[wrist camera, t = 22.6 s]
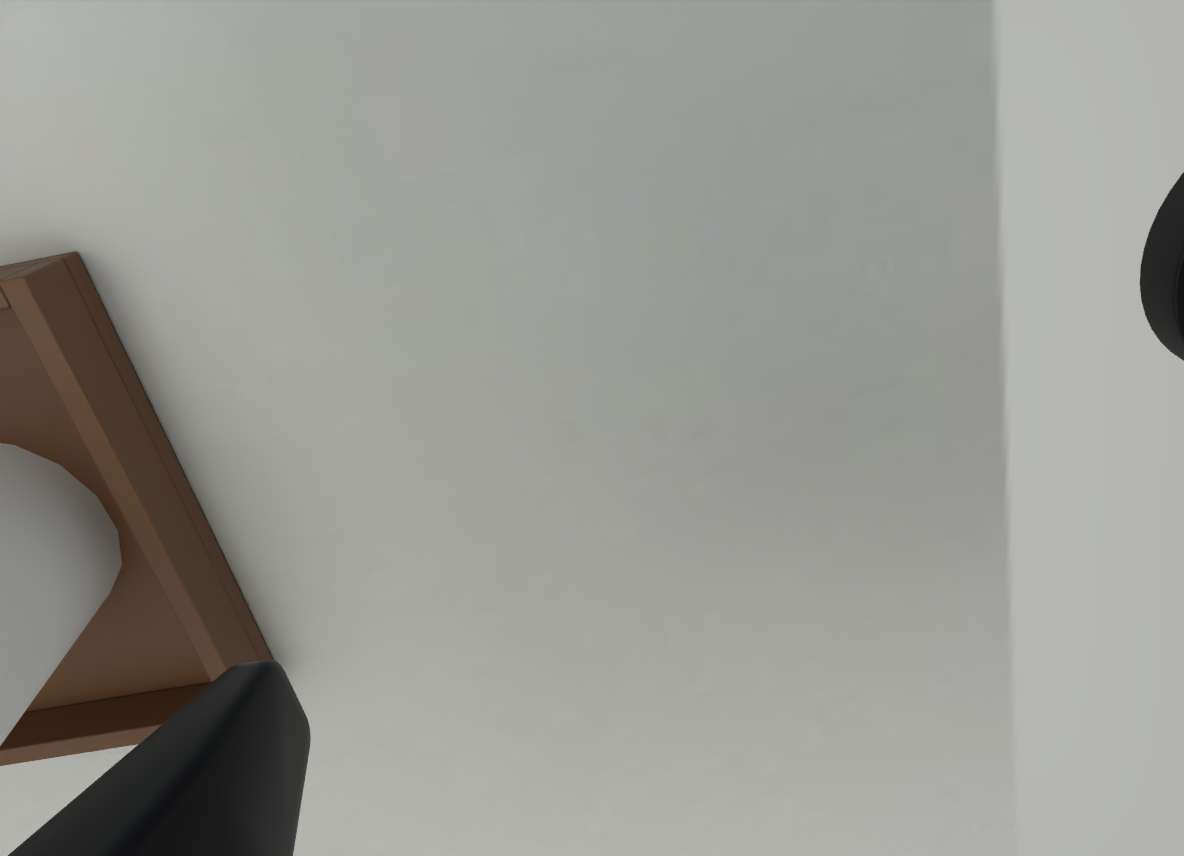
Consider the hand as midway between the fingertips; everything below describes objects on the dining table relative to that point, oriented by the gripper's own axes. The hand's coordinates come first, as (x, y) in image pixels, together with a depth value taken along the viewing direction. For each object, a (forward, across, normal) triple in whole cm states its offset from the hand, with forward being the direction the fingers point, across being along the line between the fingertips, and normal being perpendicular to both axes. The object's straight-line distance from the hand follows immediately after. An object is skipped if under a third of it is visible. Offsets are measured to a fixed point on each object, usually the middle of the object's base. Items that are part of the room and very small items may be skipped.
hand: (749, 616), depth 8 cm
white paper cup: (+13, +18, +4) cm, 22 cm away
